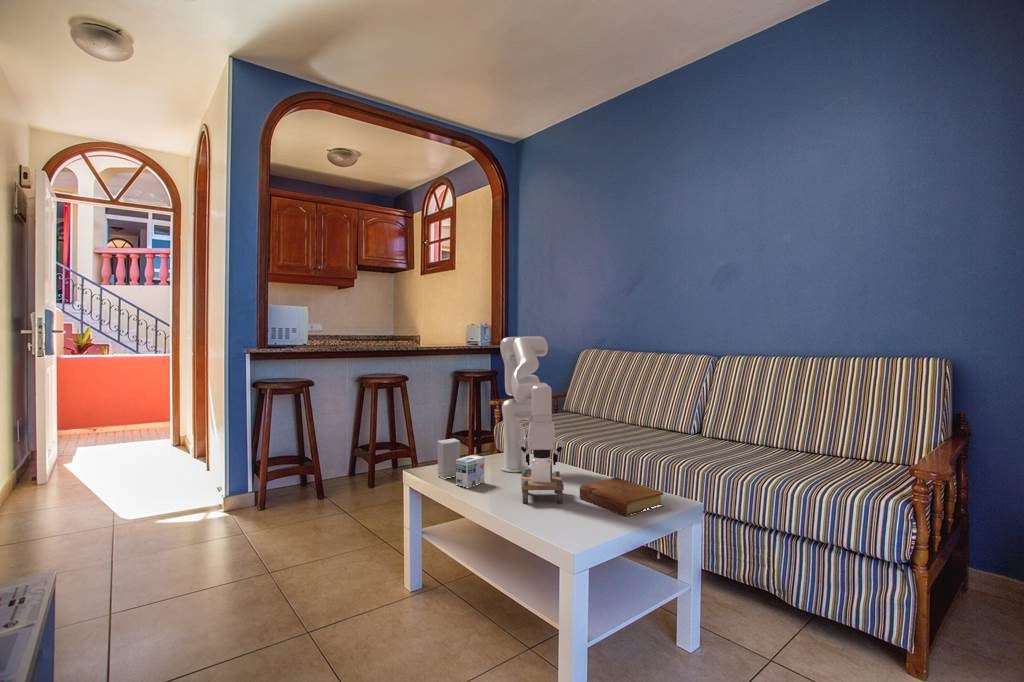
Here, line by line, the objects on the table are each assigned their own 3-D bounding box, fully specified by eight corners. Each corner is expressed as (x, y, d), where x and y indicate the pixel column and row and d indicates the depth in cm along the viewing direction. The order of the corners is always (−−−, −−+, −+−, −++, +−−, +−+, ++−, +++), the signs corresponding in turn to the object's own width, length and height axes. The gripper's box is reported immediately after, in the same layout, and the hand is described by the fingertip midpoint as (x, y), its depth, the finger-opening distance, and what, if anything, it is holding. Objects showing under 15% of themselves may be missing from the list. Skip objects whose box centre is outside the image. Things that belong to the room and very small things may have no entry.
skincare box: (454, 473, 230) (454, 437, 230) (461, 477, 224) (461, 440, 224) (436, 476, 226) (436, 439, 225) (443, 480, 220) (443, 442, 219)
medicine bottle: (550, 483, 192) (550, 450, 192) (531, 482, 193) (531, 449, 193) (552, 477, 199) (552, 446, 199) (533, 477, 200) (533, 445, 200)
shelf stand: (521, 491, 203) (521, 471, 203) (560, 491, 203) (560, 470, 203) (521, 504, 188) (521, 481, 188) (563, 504, 188) (563, 481, 188)
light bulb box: (467, 488, 207) (467, 461, 207) (455, 486, 212) (455, 459, 211) (485, 482, 216) (485, 456, 216) (472, 480, 220) (472, 454, 220)
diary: (579, 500, 194) (579, 485, 194) (616, 492, 204) (616, 477, 204) (625, 518, 175) (625, 500, 175) (663, 507, 185) (663, 491, 185)
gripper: (518, 420, 192) (518, 467, 192) (565, 420, 192) (565, 467, 192) (518, 416, 199) (518, 461, 200) (563, 416, 199) (563, 461, 199)
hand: (541, 464), depth 196 cm, fingers open, 9 cm apart
